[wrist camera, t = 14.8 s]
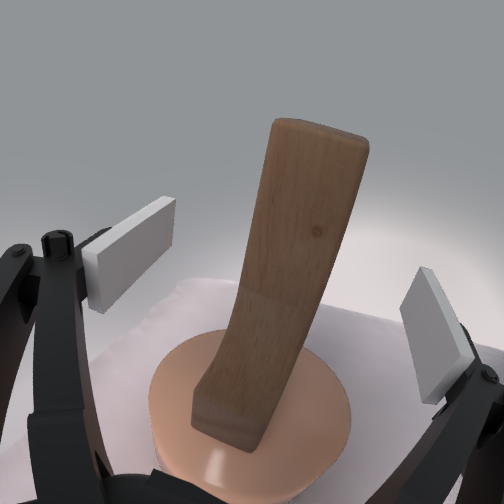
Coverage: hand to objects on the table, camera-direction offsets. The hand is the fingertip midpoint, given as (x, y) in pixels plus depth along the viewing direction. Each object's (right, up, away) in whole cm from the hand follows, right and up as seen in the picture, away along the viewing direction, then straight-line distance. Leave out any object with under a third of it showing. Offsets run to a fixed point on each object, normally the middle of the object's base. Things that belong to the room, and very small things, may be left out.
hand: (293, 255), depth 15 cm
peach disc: (-3, -17, +9) cm, 20 cm away
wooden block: (-3, -10, +5) cm, 12 cm away
